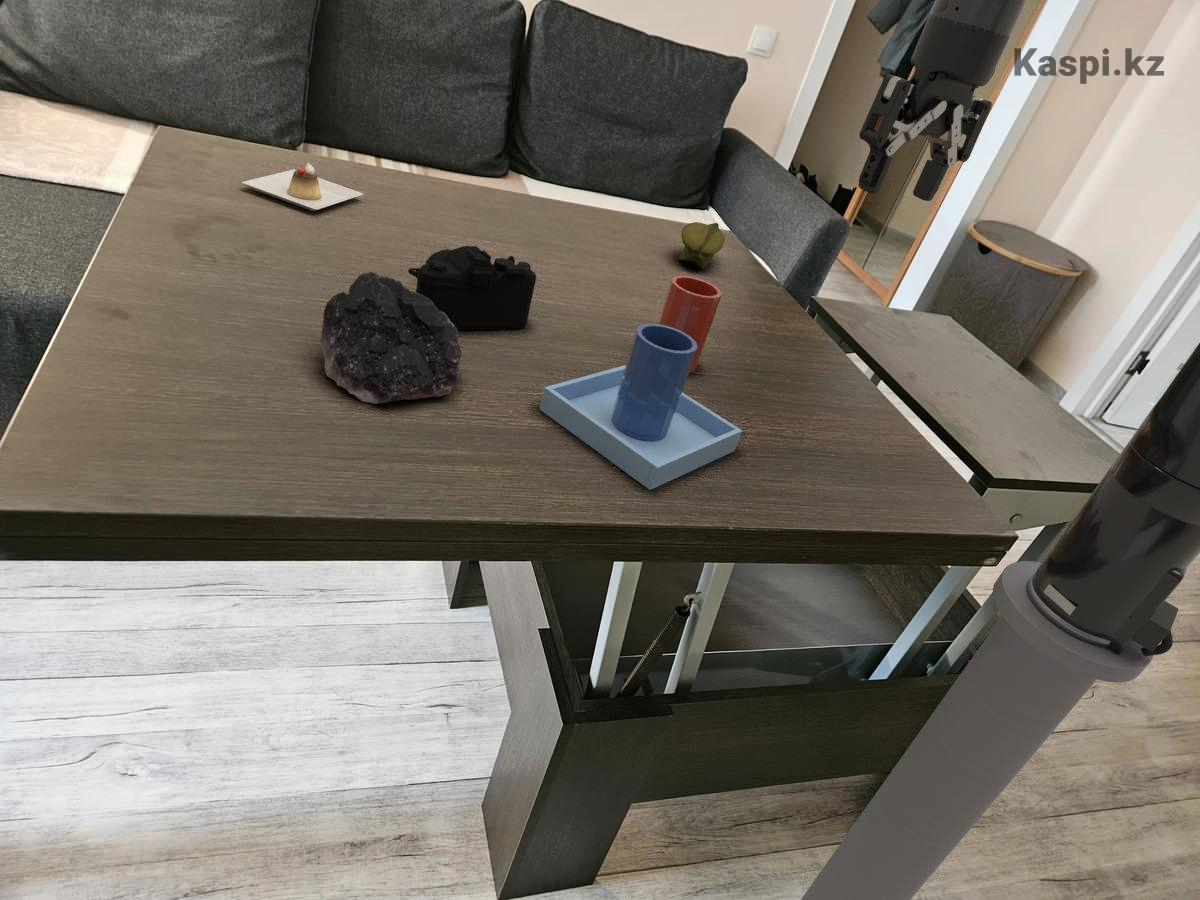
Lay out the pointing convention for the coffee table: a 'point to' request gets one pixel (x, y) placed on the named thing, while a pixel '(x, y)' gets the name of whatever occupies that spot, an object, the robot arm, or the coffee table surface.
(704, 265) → the fruit
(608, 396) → the tray
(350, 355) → the crystal cluster
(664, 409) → the blue cup
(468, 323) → the film camera
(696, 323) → the red cup
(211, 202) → the coffee table surface
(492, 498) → the coffee table surface
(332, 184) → the dessert
